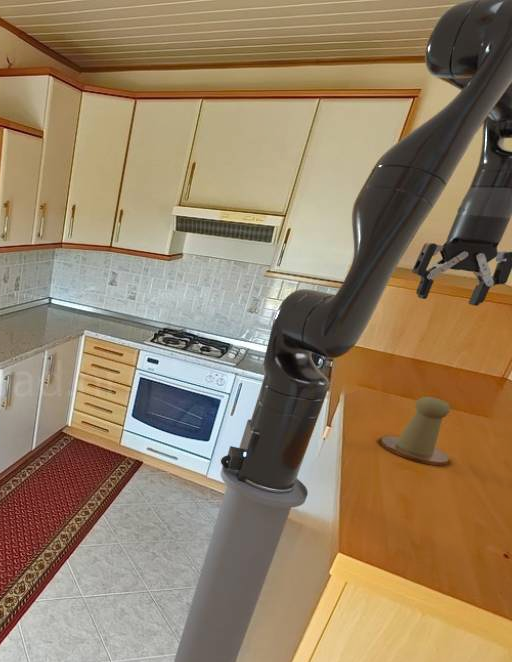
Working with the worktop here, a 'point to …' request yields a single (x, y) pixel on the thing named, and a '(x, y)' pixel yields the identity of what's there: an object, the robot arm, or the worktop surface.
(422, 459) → the disc
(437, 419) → the cork
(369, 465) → the worktop surface
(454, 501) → the worktop surface
